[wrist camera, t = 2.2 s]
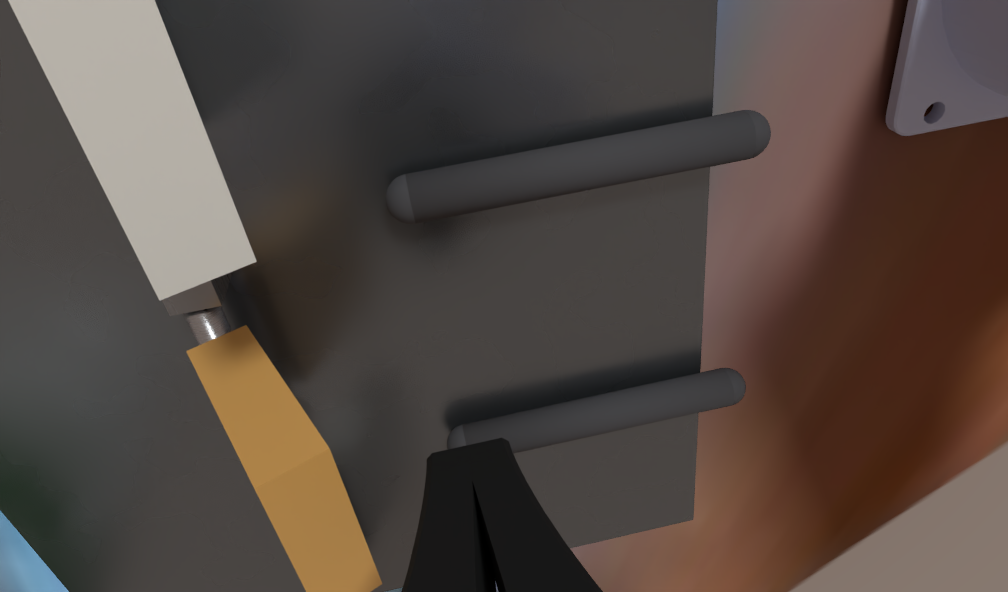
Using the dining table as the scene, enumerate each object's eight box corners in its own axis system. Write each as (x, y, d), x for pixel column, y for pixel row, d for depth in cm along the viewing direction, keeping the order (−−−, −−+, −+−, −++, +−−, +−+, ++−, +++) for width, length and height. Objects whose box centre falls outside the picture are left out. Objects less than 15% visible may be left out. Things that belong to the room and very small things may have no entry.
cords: (758, 100, 14) (782, 114, 13) (733, 384, 19) (750, 409, 18) (380, 171, 14) (381, 191, 13) (448, 447, 18) (452, 475, 17)
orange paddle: (246, 324, 14) (329, 448, 10) (299, 448, 16) (382, 583, 12) (185, 351, 13) (254, 488, 10) (248, 475, 15) (322, 623, 12)
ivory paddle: (80, -64, 10) (133, -55, 7) (180, 168, 12) (256, 261, 9) (-14, -47, 9) (-6, -28, 6) (106, 192, 11) (158, 301, 8)
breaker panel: (692, -248, 12) (771, -273, 10) (675, 493, 23) (710, 565, 21) (-397, -87, 11) (-611, -69, 8) (141, 615, 22) (114, 707, 20)
